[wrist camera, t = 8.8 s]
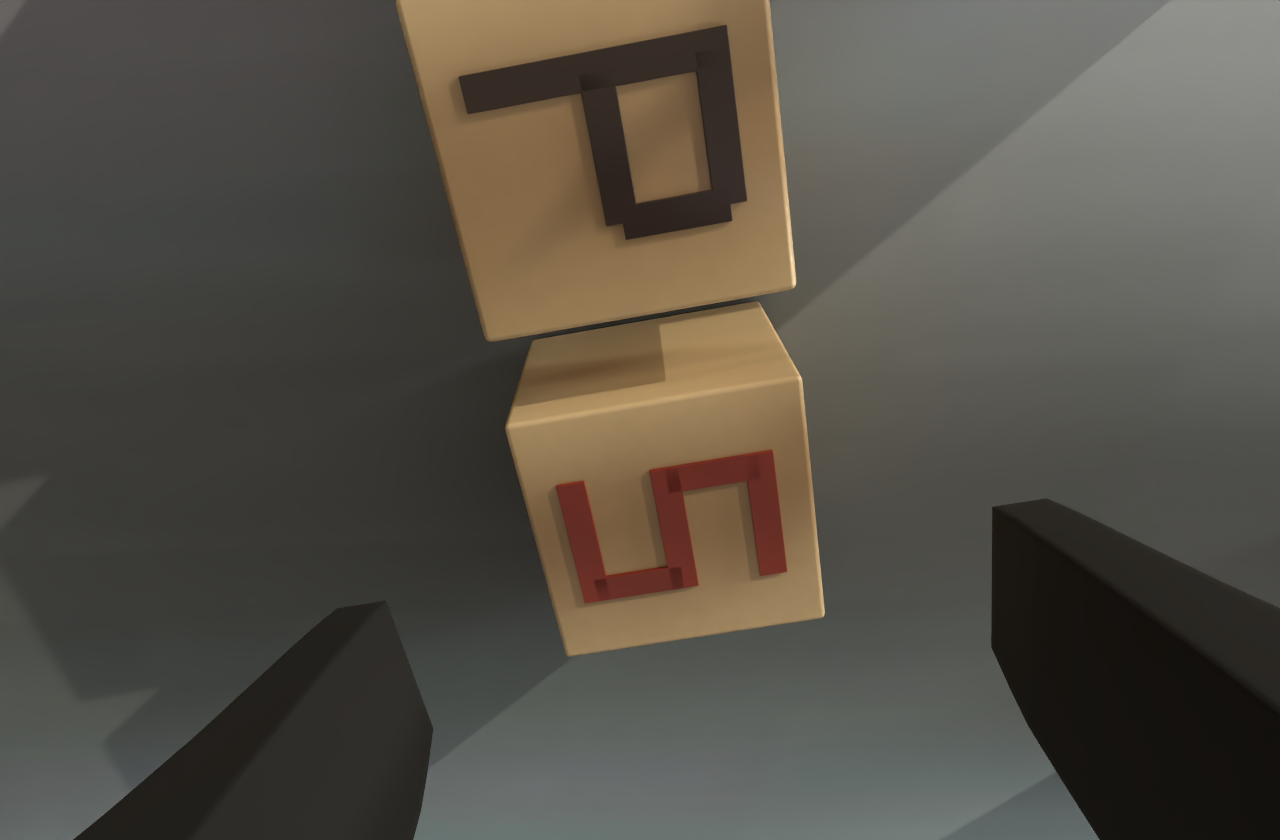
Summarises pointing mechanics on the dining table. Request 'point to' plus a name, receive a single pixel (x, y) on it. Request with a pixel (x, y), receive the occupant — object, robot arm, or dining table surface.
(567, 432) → the tile
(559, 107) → the tile
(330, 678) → the robot arm
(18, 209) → the dining table surface
